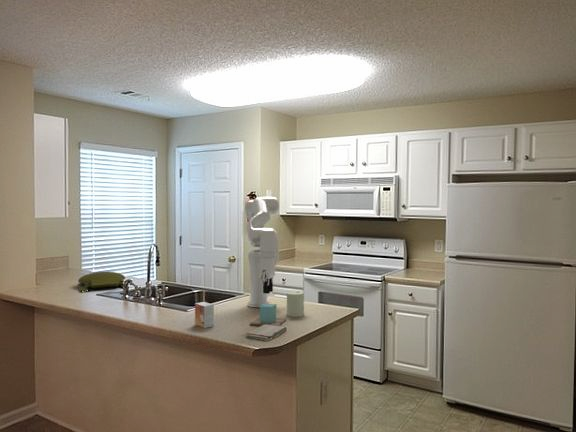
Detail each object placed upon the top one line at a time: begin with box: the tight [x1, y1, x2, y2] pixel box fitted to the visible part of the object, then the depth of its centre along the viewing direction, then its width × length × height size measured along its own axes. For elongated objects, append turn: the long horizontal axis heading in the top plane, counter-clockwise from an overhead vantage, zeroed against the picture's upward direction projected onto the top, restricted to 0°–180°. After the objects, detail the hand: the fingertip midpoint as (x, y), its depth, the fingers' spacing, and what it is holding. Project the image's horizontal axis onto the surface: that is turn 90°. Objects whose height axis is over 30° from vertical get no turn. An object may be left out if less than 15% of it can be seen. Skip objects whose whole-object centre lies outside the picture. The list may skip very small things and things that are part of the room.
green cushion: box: [77, 271, 126, 292], centre depth 317 cm, size 35×31×10 cm
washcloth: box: [245, 324, 287, 342], centre depth 204 cm, size 12×18×3 cm, turn 154°
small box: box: [194, 301, 215, 329], centre depth 218 cm, size 8×6×10 cm
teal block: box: [259, 303, 277, 323], centre depth 222 cm, size 6×6×8 cm
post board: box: [249, 316, 287, 327], centre depth 222 cm, size 13×14×8 cm
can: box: [286, 290, 305, 318], centre depth 238 cm, size 9×9×12 cm
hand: (268, 292), depth 221 cm, fingers open, 3 cm apart
